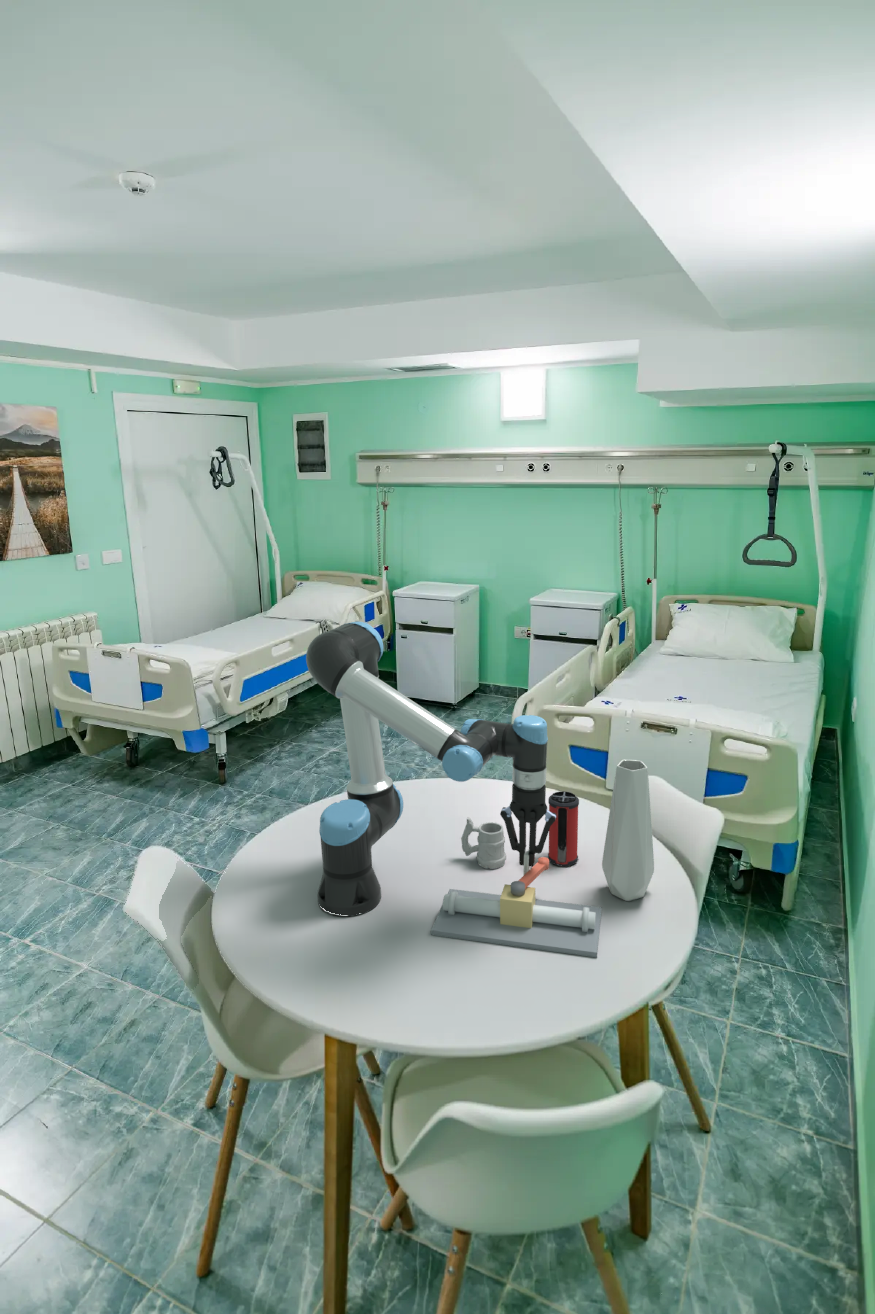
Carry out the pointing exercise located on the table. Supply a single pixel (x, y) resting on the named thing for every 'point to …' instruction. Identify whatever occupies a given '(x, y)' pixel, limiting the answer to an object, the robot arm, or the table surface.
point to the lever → (529, 877)
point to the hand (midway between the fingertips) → (526, 877)
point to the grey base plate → (519, 921)
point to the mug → (486, 844)
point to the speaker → (563, 829)
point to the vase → (629, 833)
